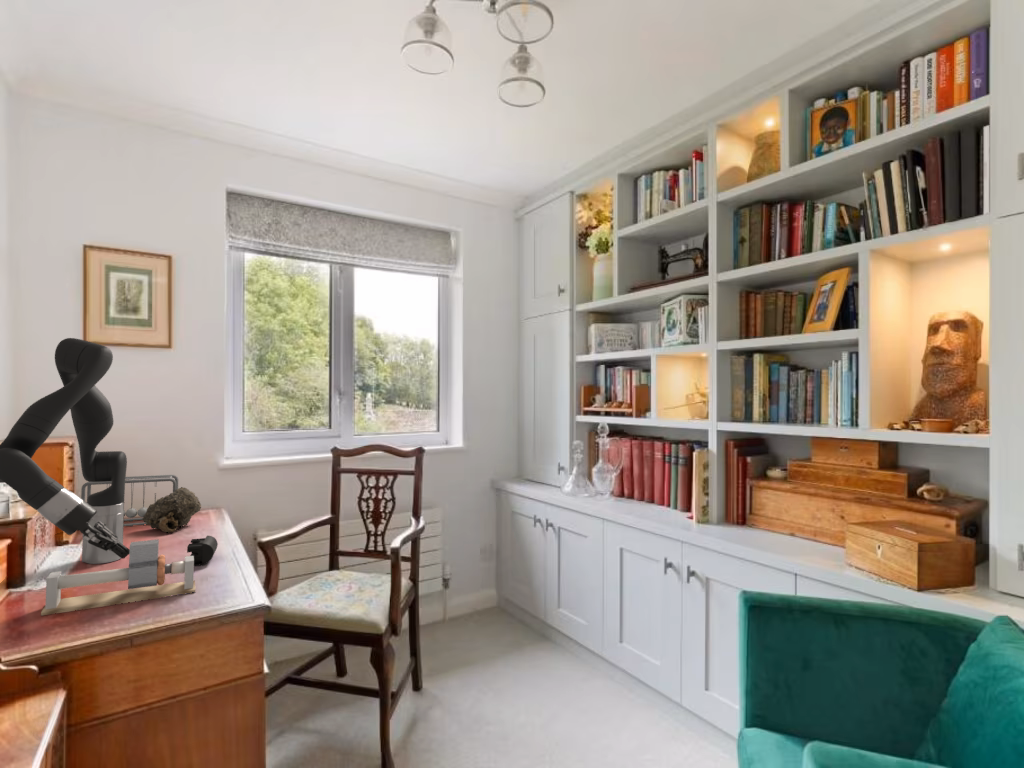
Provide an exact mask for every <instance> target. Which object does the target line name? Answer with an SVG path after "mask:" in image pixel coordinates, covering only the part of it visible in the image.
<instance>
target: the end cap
mask: <svg viewBox="0 0 1024 768" xmlns="http://www.w3.org/2000/svg"><path fill="white" fill-rule="evenodd" d="M218 545H219V544H218V541H217V539H216V538H215V537H214V536H212V535H206V537H203V538H202V537H201V538H192V539H191V540H190V543H188V545H187V546H186V547H187V549H186V553H188V554H189V553H191V554H190V555H189V556H194V567H201V565H202V566H205V565H207V564H208V563H209V562H210V561H211V560H212V559H213V558H214V555H215V553H216V550H217V548H218Z"/></svg>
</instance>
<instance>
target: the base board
mask: <svg viewBox="0 0 1024 768" xmlns="http://www.w3.org/2000/svg"><path fill="white" fill-rule="evenodd" d="M192 592H195V593H196V580H194V579H193V588H191V589H184V581H181V582H174V583H167V584H166V583H164V584H162V585H158V584H157V585H156V586H149V587H142V588H134V589H122V590H117V591H108V592H101V593H93V594H87V595H86V594H85V595H80V596H72V597H64V598H60V602H59V604H58V606H57V608H52V609H46V610H45V606H44V607H43V608H42V610H41V612H40V616H47V615H54V614H55V613H56V614H61V613H68V612H69V613H70V612H74V611H75V610H76V611H83V610H88V609H95V608H101V607H108V606H116V605H122V604H121V603H123V604H128V602H130V603H135V601H136V602H142V601H141V600H143V601H148V599H150V600H155V599H154V598H157V599H161V598H160V597H163V598H166V597H165V596H170V597H172V596H171V595H177V594H183V595H186V594H185V593H190V594H193V593H192ZM177 596H178V595H177ZM115 604H116V605H115ZM82 609H83V610H82Z"/></svg>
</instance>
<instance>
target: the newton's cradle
mask: <svg viewBox="0 0 1024 768" xmlns="http://www.w3.org/2000/svg"><path fill="white" fill-rule="evenodd" d="M158 482H171V483H172V493H173V492H174V491H175V490H176V489H179V478H178V476H177V475H175V474H163V475H162V474H161V475H160V474H159V475H135V476H126V477H125V484H130V485H131V487H130V489H131V492H130V493H131V494H130V495H131V497H130V498H131V499H130V500H131V505H130V506H131V507H130V508H128V509H127V510H124V517H125V516H126V517H127V518H124V521H129V522H133V523H124V526H130V527H134V526H133V525H143V526H145V525H144V524H146V523H145V522H144V521H143V522H134V521H133V520H143V519H142V518H143V517H144V515H145V513H146V511H147V509H148V507H145V494H146V486H145V483H155V486H157V483H158ZM134 483H136V484H137V483H138V484H139V483H140V484H141V483H143V484H142V494H143V495H142V502H143V503H142V507H140V508H139V509H138V510H137V508H135V507H133V503H134V501H133V497H134V493H133V486H134ZM111 484H112V481H107V482H89V481H86V482H85V483H83V484H82V486H81V491H80V492H81V495H80V498H81V499H83V500H84V501H85V502H86V499H87V498H88V496H90V495H91V494H92V485H93V486H95V485H98V486H99V485H108V486H111ZM156 501H157V494H154V503H155V502H156ZM137 515H138V516H139V517H137Z"/></svg>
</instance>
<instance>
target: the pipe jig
mask: <svg viewBox="0 0 1024 768" xmlns="http://www.w3.org/2000/svg"><path fill="white" fill-rule="evenodd" d="M194 570H195V566H194V556H190V555H189V556H188V555H187V556H185V557H184V560H181V561H173V562H171V563H165V573H164V574H165V575H169V574H171V575H177V574H183V573H184V577H183V578H184V580H183V582H184V589H191V588H193V581H194V577H195V576H194V572H195V571H194ZM128 574H129V567H124V568H123V567H122V568H115V569H105V570H99V571H90V572H84V573H83V572H82V573H75V574H74V573H73V574H66V575H62V571H61V570H60V571H52V572H50V573H49V575H47V577H46V579H45V580H46V584H45V605H44V607H45V610H46V609H52V608H57V606H58V604H59V602H60V599H62V598H61V592H62V590H63V589H71V588H78V587H84V586H85V587H86V586H93V585H94V586H95V585H101V584H107V583H117V582H123V581H128Z"/></svg>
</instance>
